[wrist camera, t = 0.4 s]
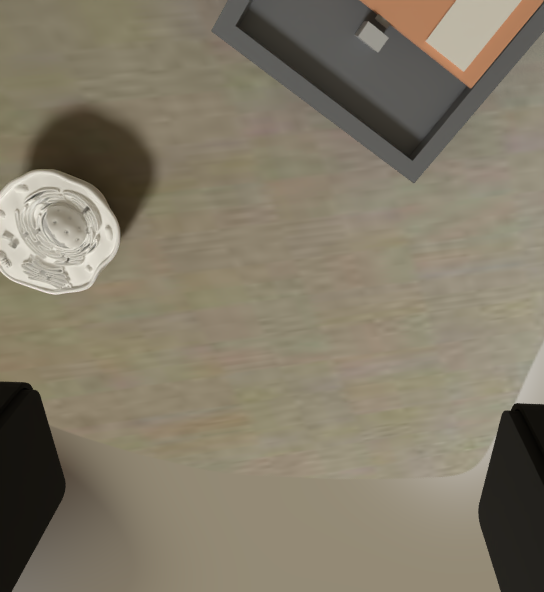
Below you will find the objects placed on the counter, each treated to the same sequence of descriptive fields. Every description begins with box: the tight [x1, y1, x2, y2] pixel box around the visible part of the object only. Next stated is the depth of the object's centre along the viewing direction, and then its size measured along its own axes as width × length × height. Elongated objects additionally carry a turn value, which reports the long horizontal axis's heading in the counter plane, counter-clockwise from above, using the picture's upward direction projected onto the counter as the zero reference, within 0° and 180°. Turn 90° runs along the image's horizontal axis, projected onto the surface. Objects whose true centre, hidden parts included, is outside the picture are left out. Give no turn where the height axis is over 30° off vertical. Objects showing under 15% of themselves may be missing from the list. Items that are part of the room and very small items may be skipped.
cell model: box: [0, 169, 120, 294], centre depth 42 cm, size 10×12×7 cm
